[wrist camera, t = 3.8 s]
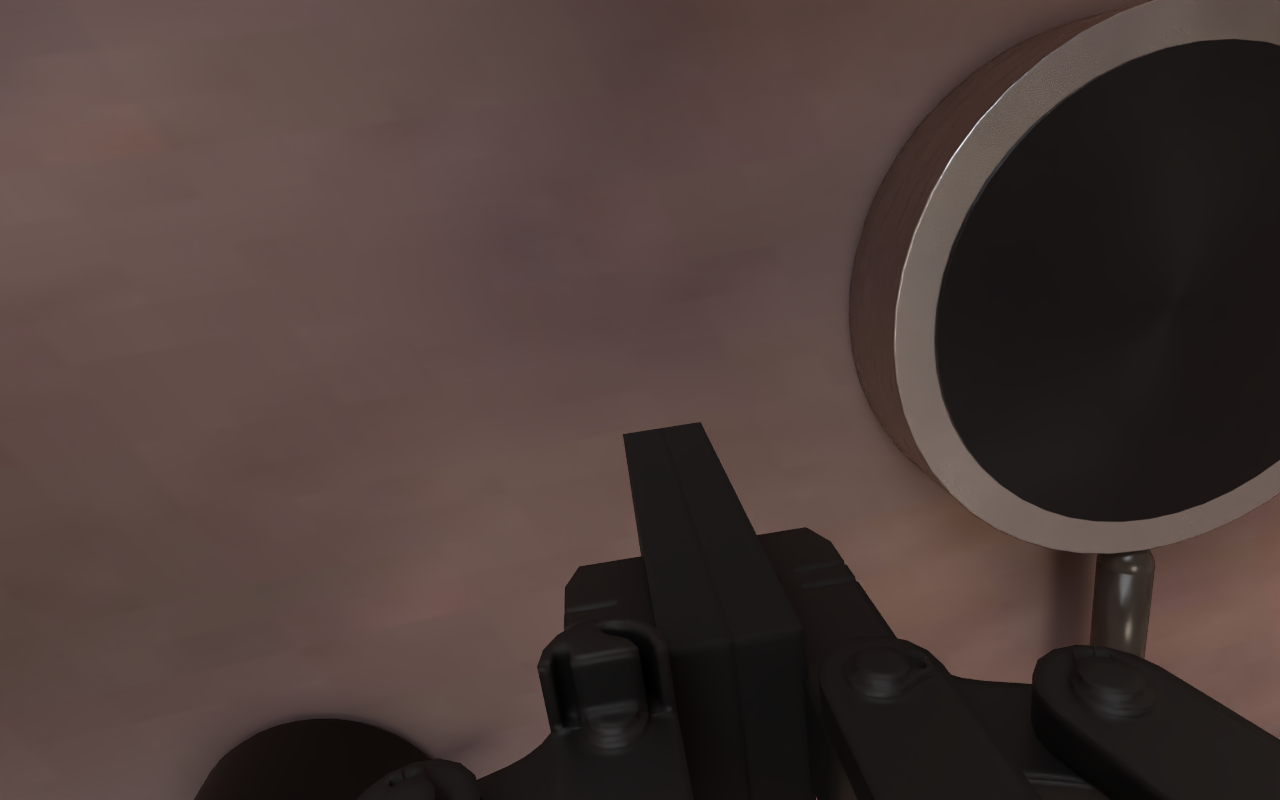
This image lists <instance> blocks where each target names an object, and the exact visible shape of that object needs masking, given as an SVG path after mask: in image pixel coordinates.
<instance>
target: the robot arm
mask: <svg viewBox="0 0 1280 800" xmlns="http://www.w3.org/2000/svg"><path fill="white" fill-rule="evenodd" d="M623 438H624V444H625V451H626V458H627V464H628V471H629V478H630V484H631V491H632V498H633V504H634V511H635V517H636V524H637V531H638V537H639V544H640V551H641V557H635V558H629V559H623V560H617V561H611V562H605V563H598V564H592V565H586V566H580V567H579V568H578V569H577V571H576V572H575V574H574V575H573V576H572V578H571V579H570V581H569V582H568V584H567V585H566V587H565V614H564V632H562V633H560V634H559V635H557V636H556V637H555V638H554V639H553V640H552V641H551V642H550V643H549V645H548V646H547V647H546V648H545V649H544V650H543V652H542V655H541V658H540V660H539V663H538V666H537V668H538V673H539V678H540V682H541V687H542V692H543V697H544V701H545V706H546V711H547V715H548V720H549V725H550V729H551V733H550V735H549V736H548V737H547V738H546V739H545V740H544V742H543V743H542V744H541V745H540V746H538V747H537V748H536V749H535V750H533V751H532V752H531V753H530V754H528V755H527V756H526V757H524V758H522V759H520V760H519V761H517V762H515V763H513V764H511V765H509V766H508V767H505V768H503V769H501V770H499V771H496V772H494V773H492V774H490V775H487V776H485V777H483V778H481V779H478V780H476V777H475V775H474V774H473V773H472V772H471V771H469V770H468V769H467V768H466V767H464V766H463V765H462V764H461V763H457V762H452V761H448V760H443V759H434V760H426V761H419V762H413V763H411V764H409V765H406V766H404V767H402V768H399V769H397V770H394V771H392V772H390V773H388V774H386V775H385V776H384V777H382V778H381V779H379V780H378V781H377V782H375V783H374V784H373V785H371V786H370V787H369V788H367V789H366V790H365V791H364V792H363V793H362V794H361V795H360V796H359V798H358V799H357V800H816V797H817V799H818V800H1280V740H1279V739H1278V738H1276V737H1274V736H1273V735H1271V734H1270V733H1268V732H1266V731H1265V730H1263V729H1261V728H1260V727H1258V726H1257V725H1255V724H1253V723H1252V722H1250V721H1248V720H1247V719H1245V718H1243V717H1242V716H1240V715H1239V714H1237V713H1235V712H1234V711H1232V710H1230V709H1229V708H1227V707H1225V706H1224V705H1222V704H1221V703H1219V702H1217V701H1216V700H1214V699H1212V698H1211V697H1209V696H1207V695H1206V694H1204V693H1203V692H1201V691H1199V690H1198V689H1196V688H1194V687H1193V686H1191V685H1189V684H1188V683H1186V682H1185V681H1183V680H1181V679H1180V678H1178V677H1176V676H1175V675H1173V674H1171V673H1170V672H1168V671H1167V670H1165V669H1163V668H1162V667H1160V666H1158V665H1155V664H1153V663H1151V662H1149V661H1147V660H1145V659H1143V658H1141V657H1139V656H1136V655H1134V654H1131V653H1127V652H1123V651H1120V650H1116V649H1112V648H1108V647H1104V646H1086V645H1073V646H1068V647H1064V648H1059V649H1054V650H1052V651H1050V652H1049V653H1047V654H1046V655H1044V656H1043V657H1041V658H1040V659H1038V661H1037V664H1036V666H1035V669H1034V672H1033V676H1032V684H1023V683H1008V682H992V681H980V680H973V679H966V678H960V677H957V676H953V675H950V673H949V672H948V670H947V669H946V668H945V666H944V665H943V664H942V663H941V662H940V661H939V660H938V659H936V658H935V657H934V656H933V655H932V654H931V653H930V652H929V651H928V650H926V649H924V648H921V647H919V646H917V645H915V644H913V643H911V642H909V641H907V640H902V639H897V637H896V636H895V635H894V633H893V632H892V630H891V629H890V627H889V626H888V624H887V623H886V621H885V620H884V619H883V617H882V616H881V614H880V613H879V611H878V610H877V608H876V607H875V605H874V604H873V603H872V601H871V600H870V598H869V597H868V595H867V594H866V592H865V591H864V589H863V588H862V587H861V585H860V584H859V582H858V581H856V580H855V576H854V575H853V573H852V572H851V571H850V569H849V568H848V566H847V565H845V564H844V560H843V559H842V558H841V556H840V555H839V553H838V552H837V550H836V549H835V547H834V546H833V544H832V543H831V542H830V541H829V540H827V539H825V538H824V537H822V536H820V535H818V534H817V533H815V532H813V531H812V530H810V529H808V528H806V527H805V528H799V529H793V530H786V531H780V532H774V533H768V534H762V535H756V533H755V531H754V529H753V527H752V525H751V523H750V521H749V519H748V517H747V515H746V513H745V511H744V509H743V507H742V505H741V503H740V501H739V499H738V497H737V495H736V493H735V491H734V489H733V487H732V485H731V483H730V481H729V479H728V477H727V475H726V473H725V471H724V469H723V467H722V465H721V463H720V461H719V459H718V457H717V455H716V452H715V450H714V448H713V446H712V444H711V442H710V440H709V438H708V436H707V434H706V432H705V430H704V428H703V426H702V424H701V422H699V423H692V424H686V425H679V426H673V427H666V428H660V429H654V430H647V431H641V432H634V433H628V434H623Z"/></svg>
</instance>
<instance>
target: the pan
mask: <svg viewBox="0 0 1280 800" xmlns="http://www.w3.org/2000/svg"><path fill="white" fill-rule="evenodd" d="M850 330H851V340H852V349H853V355H854V359H855V363H856V367H857V371H858V375H859V379H860V382H861V384H862V387H863V389H864V392H865V394H866V396H867V399H868V401H869V404H870V406H871V408H872V410H873V411H874V413H875V415H876V416H877V418H878V420H879V422H880V423H881V425H882V427H883V428H884V430H885V431H886V432H887V434H888V435H889V436H890V437H891V439H892V440H893V441H894V442H895V443H896V445H897V446H898V447H899V448H900V450H901V451H902V452H903V453H905V454H906V455H907V456H908V457H909V458H910V459H911V460H912V461H913V462H915V463H916V464H917V465H918V466H919V467H920V468H921V469H922V470H923V471H925V472H926V473H927V474H928V475H929V476H930V477H931V478H932V479H934V480H935V481H936V482H937V483H938V484H939V485H940V486H941V487H943V488H944V489H945V490H946V491H947V492H948V493H949V494H950V495H951V496H953V497H954V498H955V499H956V500H957V501H958V502H959V503H960V504H962V505H963V506H964V507H965V508H966V509H967V510H968V511H969V512H971V513H972V514H973V515H975V516H977V517H978V518H980V519H981V520H983V521H984V522H986V523H987V524H989V525H990V526H992V527H993V528H995V529H997V530H999V531H1001V532H1004V533H1006V534H1008V535H1010V536H1013V537H1015V538H1017V539H1019V540H1021V541H1025V542H1028V543H1032V544H1035V545H1038V546H1042V547H1045V548H1049V549H1054V550H1061V551H1068V552H1075V553H1089V554H1097V561H1096V573H1095V586H1094V598H1093V610H1092V622H1091V634H1090V646H1104V647H1108V648H1112V649H1116V650H1120V651H1123V652H1127V653H1131V654H1134V655H1136V656H1139V657H1141V658H1143V659H1145V650H1146V641H1147V632H1148V623H1149V614H1150V606H1151V597H1152V588H1153V579H1154V570H1155V560H1154V557H1153V555H1152V553H1151V551H1150V550H1149V549H1152V548H1157V547H1161V546H1166V545H1170V544H1175V543H1178V542H1181V541H1184V540H1186V539H1189V538H1192V537H1195V536H1198V535H1201V534H1204V533H1207V532H1209V531H1211V530H1214V529H1216V528H1218V527H1220V526H1222V525H1225V524H1227V523H1229V522H1231V521H1233V520H1236V519H1238V518H1239V517H1241V516H1243V515H1245V514H1246V513H1248V512H1250V511H1251V510H1253V509H1255V508H1257V507H1258V506H1260V505H1262V504H1264V503H1265V502H1267V501H1269V500H1270V499H1271V498H1273V497H1274V496H1276V495H1277V494H1278V493H1280V0H1149V1H1145V2H1142V3H1138V4H1135V5H1131V6H1127V7H1124V8H1120V9H1117V10H1113V11H1110V12H1106V13H1103V14H1099V15H1096V16H1092V17H1088V18H1085V19H1081V20H1078V21H1074V22H1071V23H1068V24H1065V25H1063V26H1060V27H1057V28H1054V29H1051V30H1049V31H1046V32H1043V33H1040V34H1038V35H1036V36H1034V37H1032V38H1030V39H1028V40H1026V41H1024V42H1022V43H1020V44H1018V45H1016V46H1014V47H1012V48H1010V49H1008V50H1006V51H1004V52H1003V53H1001V54H1000V55H999V56H997V57H996V58H994V59H993V60H991V61H990V62H988V63H987V64H985V65H984V66H982V67H981V68H980V69H978V70H977V71H975V72H974V73H972V74H971V75H970V76H969V77H968V78H967V79H965V80H964V81H963V82H962V83H961V84H960V85H959V86H957V87H956V88H955V89H954V90H953V91H952V92H951V93H949V94H948V95H947V96H946V97H945V98H944V99H943V100H942V101H941V102H940V103H939V104H938V105H937V107H936V108H935V109H934V110H933V111H932V112H931V113H930V114H929V115H928V116H927V118H926V119H925V120H924V121H923V122H922V123H921V124H920V125H919V126H918V128H917V129H916V131H915V132H914V133H913V135H912V136H911V138H910V139H909V140H908V142H907V143H906V145H905V146H904V147H903V149H902V150H901V152H900V153H899V154H898V156H897V157H896V159H895V161H894V163H893V164H892V166H891V168H890V170H889V172H888V173H887V175H886V177H885V179H884V181H883V182H882V184H881V186H880V188H879V190H878V192H877V194H876V197H875V199H874V202H873V204H872V206H871V209H870V211H869V214H868V216H867V219H866V221H865V224H864V227H863V231H862V235H861V238H860V242H859V245H858V249H857V252H856V256H855V262H854V269H853V275H852V282H851V288H850Z"/></svg>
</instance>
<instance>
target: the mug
mask: <svg viewBox="0 0 1280 800" xmlns="http://www.w3.org/2000/svg"><path fill="white" fill-rule="evenodd" d="M426 760H428V759H427V758H426V757H425V756H424V755H423V754H422V753H421V752H420V751H418V750H417V749H416V748H415V747H413V746H412V745H411V744H409V743H408V742H406V741H404V740H402V739H401V738H399V737H397V736H395V735H393V734H391V733H389V732H387V731H384V730H382V729H379V728H377V727H374V726H370V725H366V724H362V723H358V722H353V721H346V720H338V719H311V720H302V721H295V722H291V723H286V724H282V725H279V726H276V727H273V728H270V729H268V730H265V731H263V732H260V733H258V734H256V735H254V736H253V737H251V738H249V739H248V740H246V741H244V742H243V743H241V744H240V745H238V746H237V747H235V748H234V749H233V750H231V751H230V752H229V753H228V754H227V755H225V756H224V757H223V758H222V759H221V760H220V761H219V762H218V764H217V765H216V766H215V767H214V768H213V769H212V771H211V772H210V774H209V775H208V777H207V779H206V780H205V782H204V784H203V785H202V787H201V789H200V790H199V792H198V794H197V795H196V797H195V799H194V800H357V799H358V798H359V796H360V795H361V794H362V793H363V792H364V791H365V790H366V789H367V788H369V787H370V786H371V785H373V784H374V783H375V782H377V781H378V780H379V779H381V778H382V777H384V776H385V775H386V774H388V773H390V772H392V771H394V770H397V769H399V768H402V767H404V766H406V765H409V764H411V763H413V762H419V761H426Z"/></svg>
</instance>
